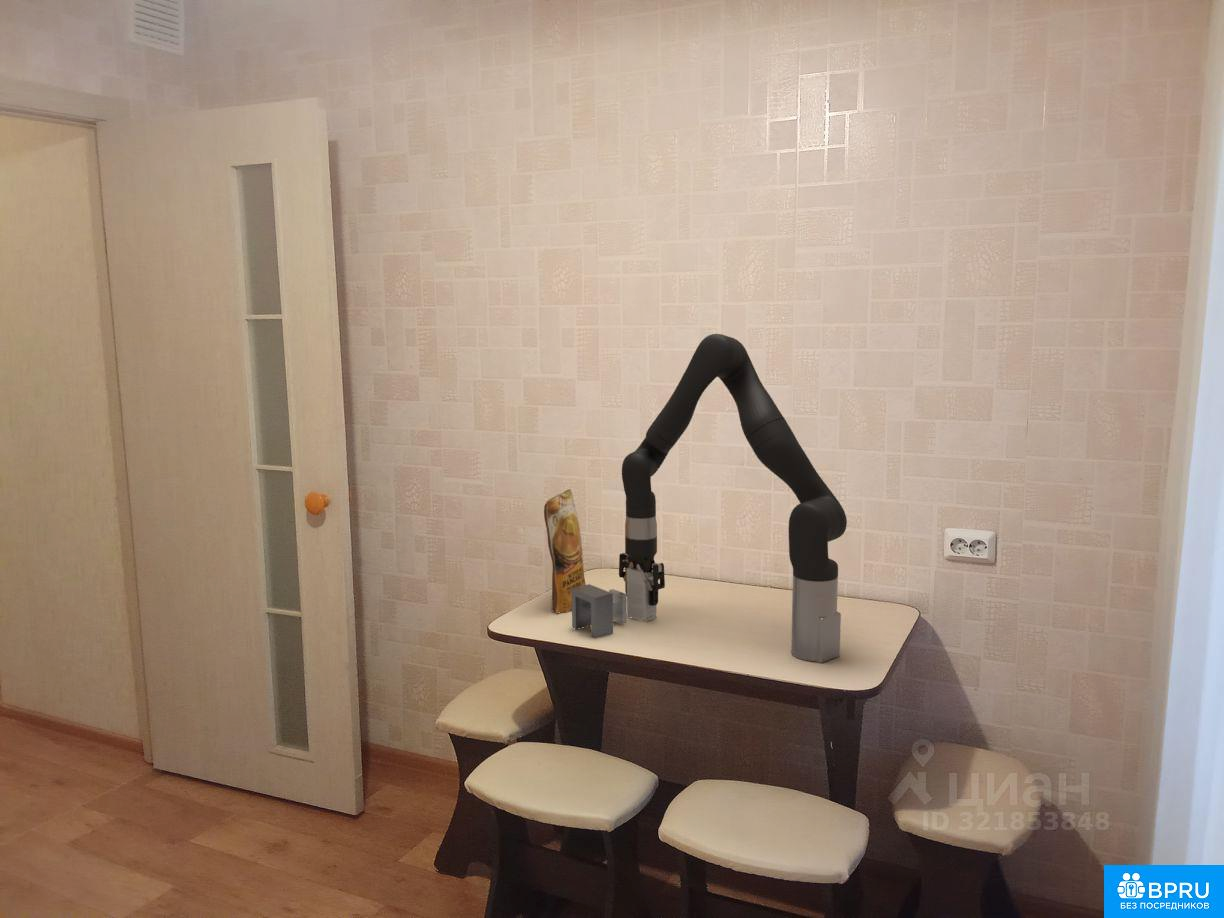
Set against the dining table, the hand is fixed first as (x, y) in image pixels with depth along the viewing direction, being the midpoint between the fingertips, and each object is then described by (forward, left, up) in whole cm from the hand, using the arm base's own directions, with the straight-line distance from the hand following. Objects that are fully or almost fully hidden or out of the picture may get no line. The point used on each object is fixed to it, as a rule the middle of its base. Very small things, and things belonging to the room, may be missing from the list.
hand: (641, 600), depth 218 cm
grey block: (+2, +9, -3) cm, 10 cm away
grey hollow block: (+1, +11, -4) cm, 12 cm away
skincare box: (0, 0, -4) cm, 4 cm away
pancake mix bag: (+19, +8, -4) cm, 21 cm away
